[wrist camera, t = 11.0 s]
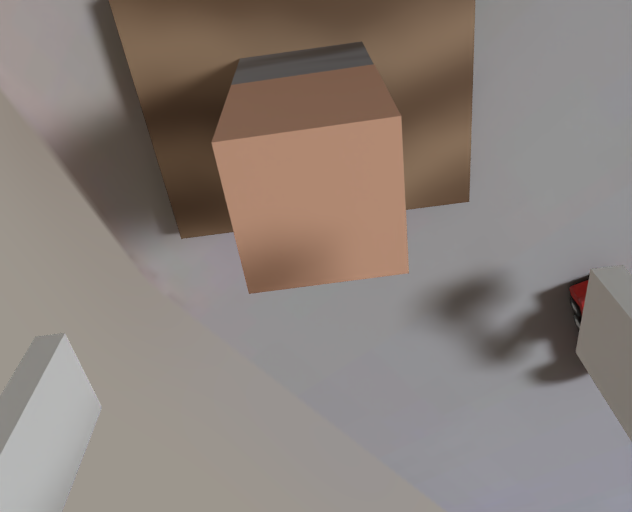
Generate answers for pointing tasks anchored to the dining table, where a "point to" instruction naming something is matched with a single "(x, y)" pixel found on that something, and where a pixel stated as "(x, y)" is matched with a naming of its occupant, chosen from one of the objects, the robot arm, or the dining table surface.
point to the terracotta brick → (314, 178)
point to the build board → (239, 27)
